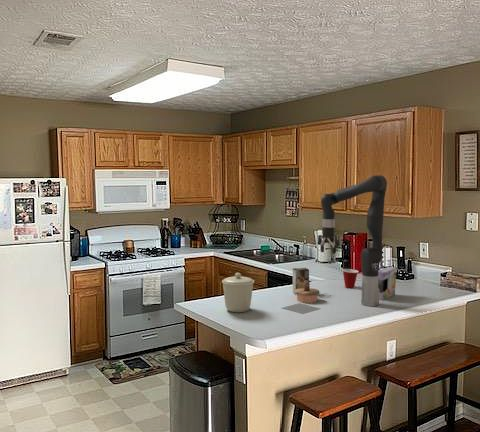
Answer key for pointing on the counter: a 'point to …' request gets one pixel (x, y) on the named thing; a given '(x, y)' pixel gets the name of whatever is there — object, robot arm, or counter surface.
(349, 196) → the robot arm
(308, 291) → the walnut lid
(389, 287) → the cake pan box
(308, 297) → the terracotta bowl
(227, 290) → the canister
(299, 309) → the rubber mat
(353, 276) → the plastic cup
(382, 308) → the counter surface
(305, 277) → the coffee box
